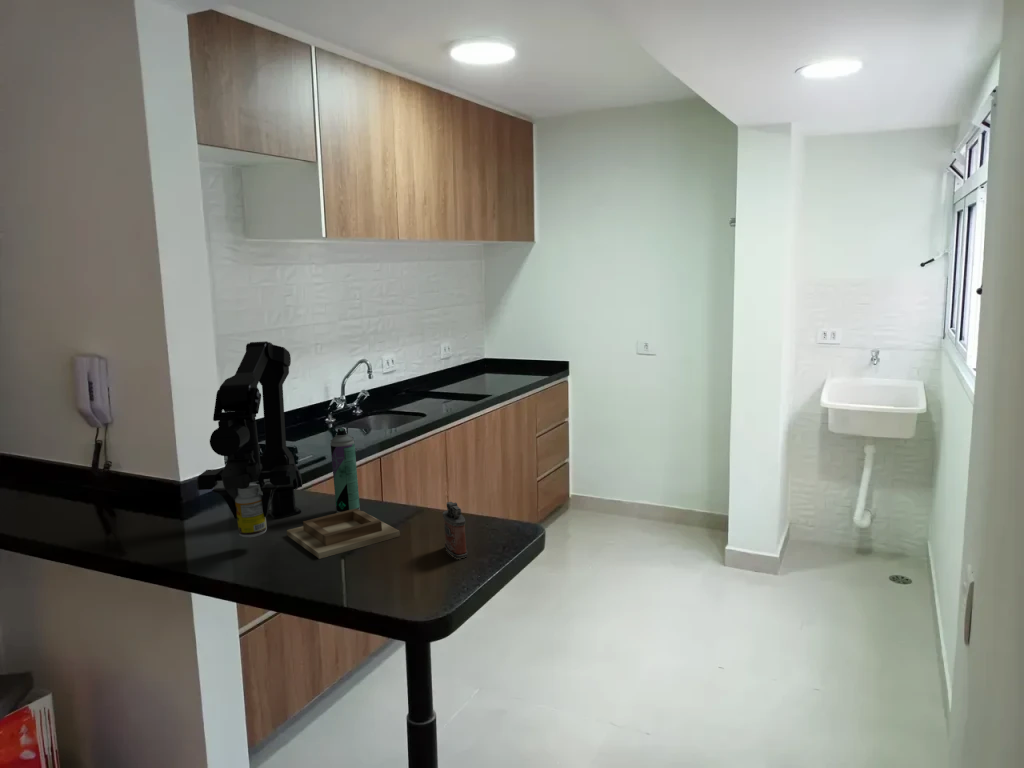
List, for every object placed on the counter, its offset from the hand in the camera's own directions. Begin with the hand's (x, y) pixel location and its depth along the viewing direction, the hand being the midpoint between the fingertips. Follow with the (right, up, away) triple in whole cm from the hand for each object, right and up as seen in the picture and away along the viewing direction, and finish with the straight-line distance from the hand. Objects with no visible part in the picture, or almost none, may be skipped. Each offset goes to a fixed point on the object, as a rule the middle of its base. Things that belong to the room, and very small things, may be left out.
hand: (251, 517), depth 155 cm
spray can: (+15, -3, +23) cm, 27 cm away
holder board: (+18, -5, +6) cm, 19 cm away
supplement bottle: (0, -4, +1) cm, 4 cm away
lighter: (+43, -6, -6) cm, 44 cm away
